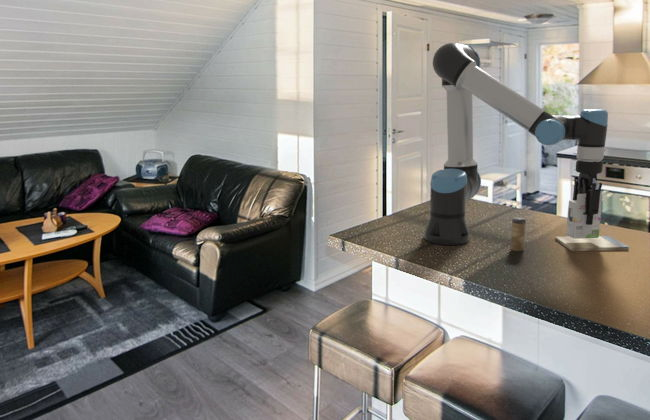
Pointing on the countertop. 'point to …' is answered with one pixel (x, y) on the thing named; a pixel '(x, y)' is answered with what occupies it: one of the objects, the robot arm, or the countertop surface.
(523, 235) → the grey and tan cylinder
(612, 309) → the countertop surface
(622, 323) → the countertop surface
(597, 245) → the plywood panel
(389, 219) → the countertop surface
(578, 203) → the ink box
